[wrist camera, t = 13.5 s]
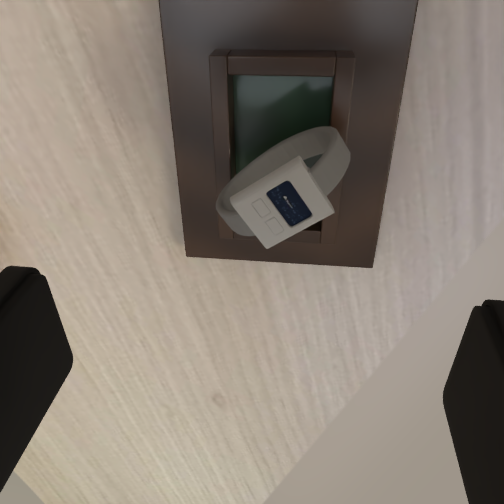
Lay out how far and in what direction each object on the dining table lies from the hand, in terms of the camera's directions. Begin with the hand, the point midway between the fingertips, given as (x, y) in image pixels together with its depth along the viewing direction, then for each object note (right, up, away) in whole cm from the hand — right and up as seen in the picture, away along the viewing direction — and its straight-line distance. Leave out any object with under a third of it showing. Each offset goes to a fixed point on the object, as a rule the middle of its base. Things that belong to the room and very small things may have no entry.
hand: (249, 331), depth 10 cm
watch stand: (+2, +8, +13) cm, 15 cm away
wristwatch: (+1, +6, +12) cm, 13 cm away
